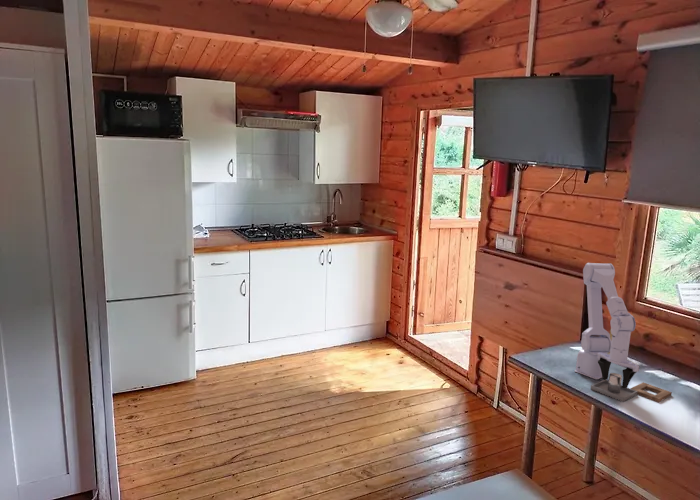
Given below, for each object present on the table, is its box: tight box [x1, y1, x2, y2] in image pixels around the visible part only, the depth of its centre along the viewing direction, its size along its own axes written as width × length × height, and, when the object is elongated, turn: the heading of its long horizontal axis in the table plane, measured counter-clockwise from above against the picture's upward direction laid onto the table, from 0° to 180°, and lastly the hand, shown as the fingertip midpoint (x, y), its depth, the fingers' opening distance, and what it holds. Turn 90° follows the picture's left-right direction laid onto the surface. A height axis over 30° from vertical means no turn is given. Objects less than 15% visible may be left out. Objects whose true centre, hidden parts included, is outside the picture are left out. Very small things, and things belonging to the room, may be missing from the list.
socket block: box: [630, 381, 673, 403], centre depth 192 cm, size 10×10×1 cm
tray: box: [590, 379, 638, 403], centre depth 192 cm, size 12×10×2 cm
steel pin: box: [608, 372, 623, 393], centre depth 191 cm, size 4×4×6 cm
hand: (614, 383), depth 191 cm, fingers open, 7 cm apart
